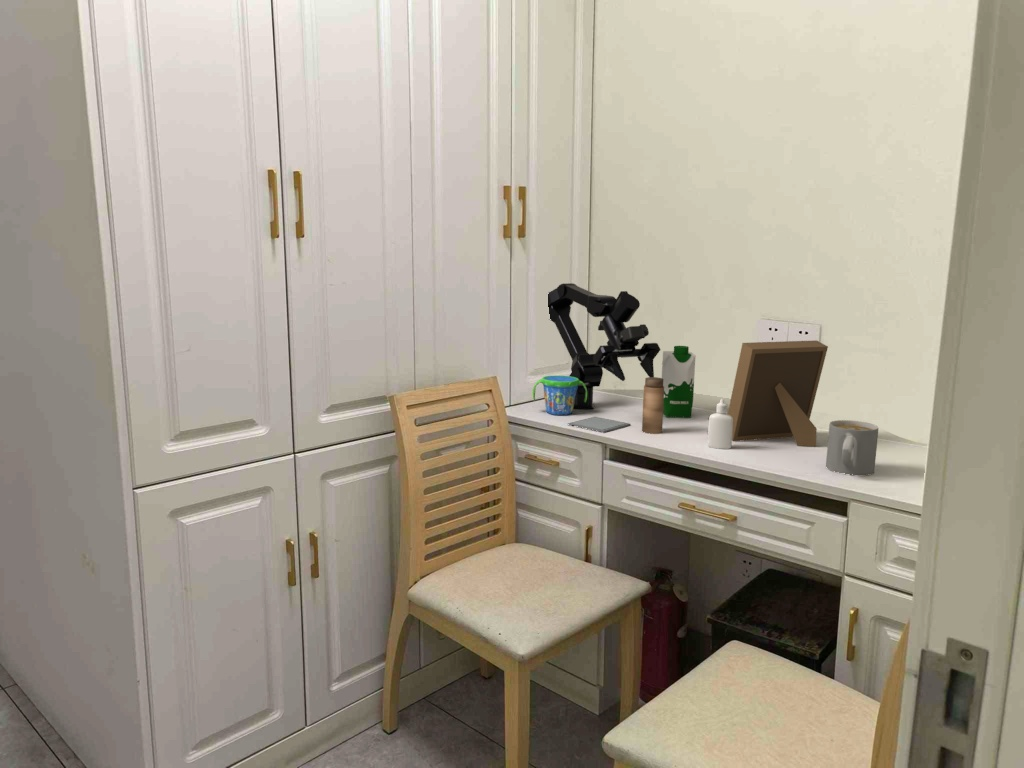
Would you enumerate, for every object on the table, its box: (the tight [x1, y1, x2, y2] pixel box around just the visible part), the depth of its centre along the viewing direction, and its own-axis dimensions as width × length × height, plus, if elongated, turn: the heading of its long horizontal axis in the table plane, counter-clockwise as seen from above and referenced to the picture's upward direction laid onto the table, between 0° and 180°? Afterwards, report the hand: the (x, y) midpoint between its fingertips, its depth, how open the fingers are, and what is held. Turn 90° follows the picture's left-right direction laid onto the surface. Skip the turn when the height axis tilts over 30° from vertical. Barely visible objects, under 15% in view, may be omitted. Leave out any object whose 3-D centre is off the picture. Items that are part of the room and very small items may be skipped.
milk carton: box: [661, 345, 697, 418], centre depth 230 cm, size 9×9×20 cm
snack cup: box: [532, 375, 587, 416], centre depth 231 cm, size 16×11×10 cm
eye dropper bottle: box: [707, 398, 733, 450], centre depth 195 cm, size 4×6×12 cm
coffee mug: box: [825, 419, 879, 476], centre depth 177 cm, size 13×10×10 cm
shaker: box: [641, 376, 664, 435], centre depth 210 cm, size 5×5×14 cm
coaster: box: [567, 416, 631, 433], centre depth 217 cm, size 12×12×1 cm
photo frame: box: [727, 339, 829, 447], centre depth 201 cm, size 15×22×25 cm
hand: (638, 378), depth 215 cm, fingers open, 9 cm apart
